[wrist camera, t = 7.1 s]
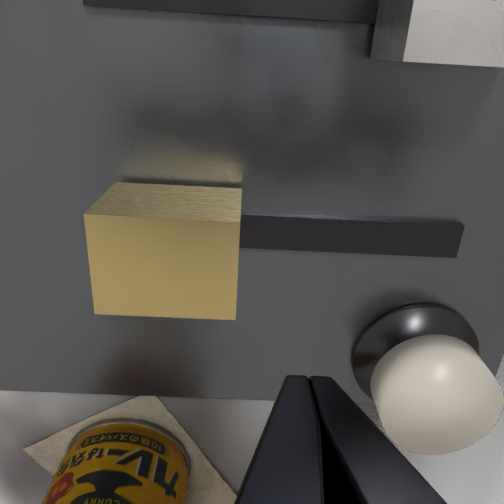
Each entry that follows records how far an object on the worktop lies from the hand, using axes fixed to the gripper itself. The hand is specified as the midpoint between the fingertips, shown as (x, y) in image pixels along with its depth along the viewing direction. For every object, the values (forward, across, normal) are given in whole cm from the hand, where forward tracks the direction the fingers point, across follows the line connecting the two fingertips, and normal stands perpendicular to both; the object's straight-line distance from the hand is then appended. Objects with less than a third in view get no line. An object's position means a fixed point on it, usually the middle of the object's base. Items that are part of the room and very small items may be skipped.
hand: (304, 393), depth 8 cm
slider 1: (+7, +3, 0) cm, 8 cm away
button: (+7, -6, +5) cm, 10 cm away
